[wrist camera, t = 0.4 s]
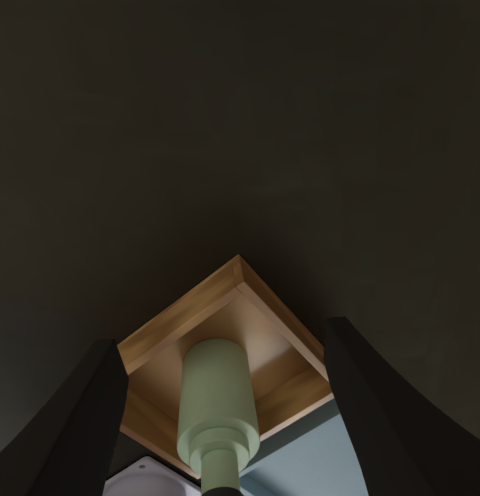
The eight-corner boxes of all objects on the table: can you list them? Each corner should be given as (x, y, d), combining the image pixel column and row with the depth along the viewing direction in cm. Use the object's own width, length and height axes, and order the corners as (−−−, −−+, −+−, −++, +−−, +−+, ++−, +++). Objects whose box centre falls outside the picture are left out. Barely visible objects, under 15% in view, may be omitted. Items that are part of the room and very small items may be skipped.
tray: (326, 531, 38) (332, 553, 36) (222, 458, 31) (223, 481, 29) (441, 472, 35) (454, 493, 33) (356, 377, 28) (366, 398, 26)
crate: (198, 439, 30) (197, 480, 27) (91, 364, 25) (75, 403, 22) (331, 355, 27) (347, 390, 24) (238, 253, 22) (244, 280, 19)
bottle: (211, 396, 27) (215, 550, 18) (169, 362, 25) (149, 516, 16) (260, 364, 26) (289, 510, 17) (219, 326, 24) (228, 469, 15)
